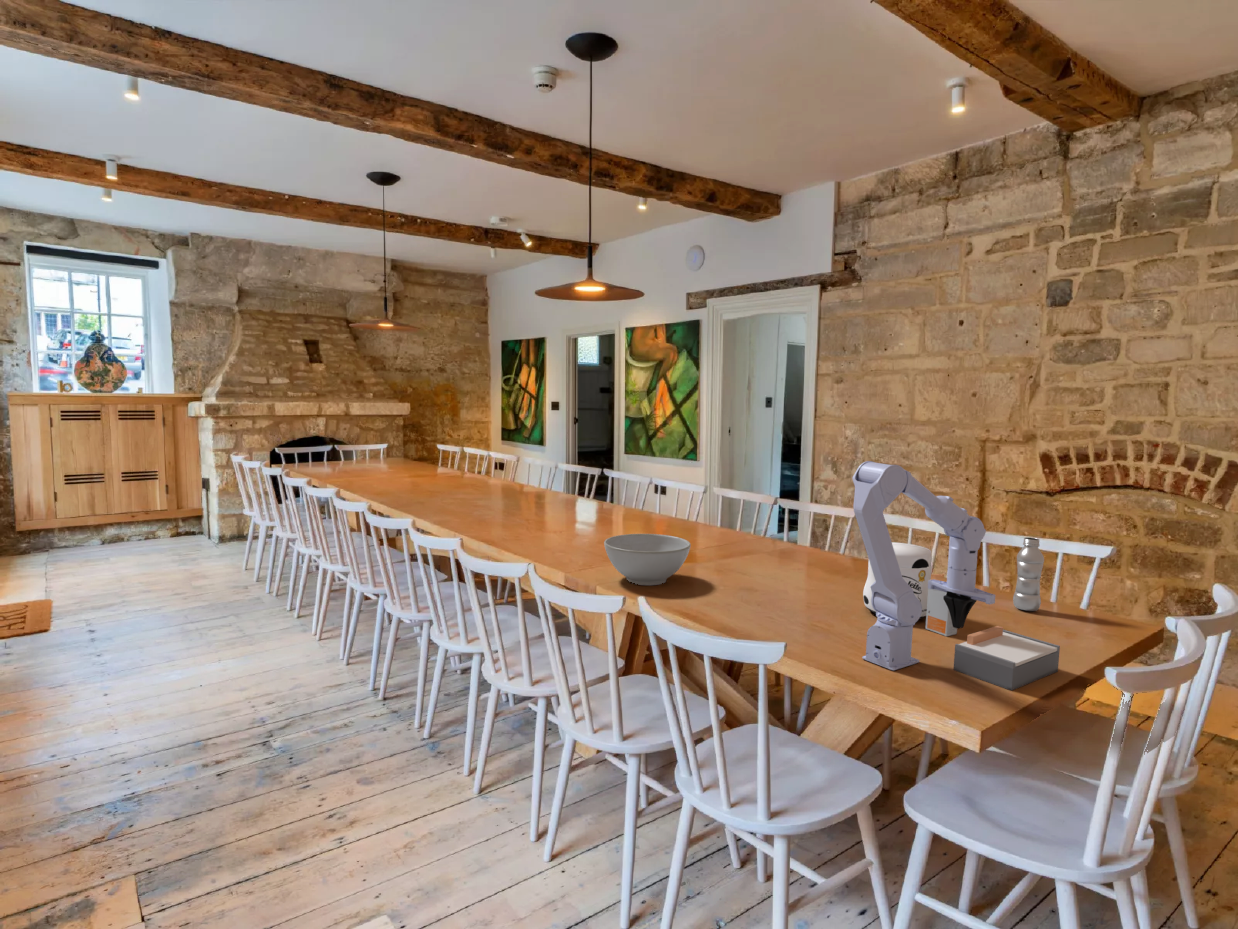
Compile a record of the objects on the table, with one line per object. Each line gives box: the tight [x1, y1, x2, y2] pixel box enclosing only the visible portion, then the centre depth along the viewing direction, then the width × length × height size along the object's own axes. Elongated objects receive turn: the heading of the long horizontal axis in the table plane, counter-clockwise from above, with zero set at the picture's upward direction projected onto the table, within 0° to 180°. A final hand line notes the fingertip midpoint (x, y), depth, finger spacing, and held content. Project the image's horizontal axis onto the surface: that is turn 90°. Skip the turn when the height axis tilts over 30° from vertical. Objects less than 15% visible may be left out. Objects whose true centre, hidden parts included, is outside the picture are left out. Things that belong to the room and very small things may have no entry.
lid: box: [958, 625, 1057, 666], centre depth 144 cm, size 17×12×2 cm
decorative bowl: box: [603, 533, 691, 586], centre depth 211 cm, size 27×27×12 cm
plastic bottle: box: [1012, 537, 1045, 612], centre depth 187 cm, size 6×7×20 cm
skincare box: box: [925, 589, 958, 637], centre depth 168 cm, size 6×4×12 cm
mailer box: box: [953, 629, 1061, 692], centre depth 144 cm, size 19×12×6 cm, turn 123°
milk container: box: [862, 541, 933, 620], centre depth 181 cm, size 17×17×18 cm
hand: (958, 627), depth 153 cm, fingers closed
